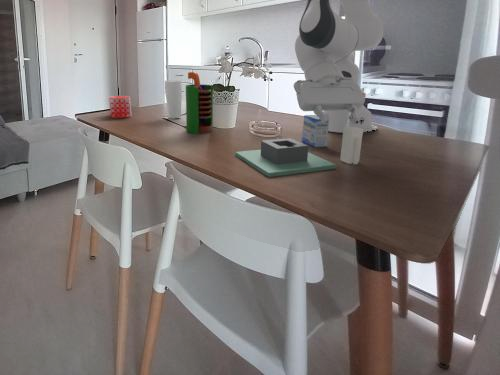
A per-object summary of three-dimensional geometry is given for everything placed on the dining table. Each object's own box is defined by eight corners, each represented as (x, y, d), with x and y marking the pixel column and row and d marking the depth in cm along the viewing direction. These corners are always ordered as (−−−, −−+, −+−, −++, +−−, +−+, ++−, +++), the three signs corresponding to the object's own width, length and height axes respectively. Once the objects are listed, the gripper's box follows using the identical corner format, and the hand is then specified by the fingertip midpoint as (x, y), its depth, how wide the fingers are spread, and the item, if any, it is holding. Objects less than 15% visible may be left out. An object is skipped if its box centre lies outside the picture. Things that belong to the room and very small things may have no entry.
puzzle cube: (131, 117, 156) (129, 98, 153) (111, 117, 153) (109, 98, 151) (131, 114, 163) (129, 95, 160) (112, 114, 161) (110, 95, 158)
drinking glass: (164, 118, 153) (161, 81, 148) (170, 116, 159) (168, 80, 154) (179, 119, 152) (178, 81, 147) (185, 117, 158) (183, 80, 153)
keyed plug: (350, 159, 102) (354, 126, 99) (361, 163, 98) (365, 129, 95) (340, 160, 101) (343, 127, 97) (350, 164, 97) (354, 130, 94)
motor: (207, 134, 127) (205, 73, 120) (182, 132, 129) (179, 72, 122) (215, 128, 137) (214, 72, 130) (192, 127, 138) (190, 71, 131)
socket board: (294, 149, 110) (295, 132, 109) (335, 168, 93) (337, 149, 92) (235, 155, 103) (235, 137, 101) (268, 177, 86) (269, 156, 84)
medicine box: (301, 141, 120) (303, 115, 117) (313, 140, 122) (315, 114, 119) (314, 147, 113) (317, 119, 110) (326, 146, 115) (329, 118, 112)
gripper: (296, 72, 98) (313, 115, 93) (357, 73, 107) (376, 112, 102) (287, 88, 104) (302, 129, 99) (345, 88, 112) (363, 126, 107)
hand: (340, 121), depth 100 cm, fingers open, 8 cm apart
